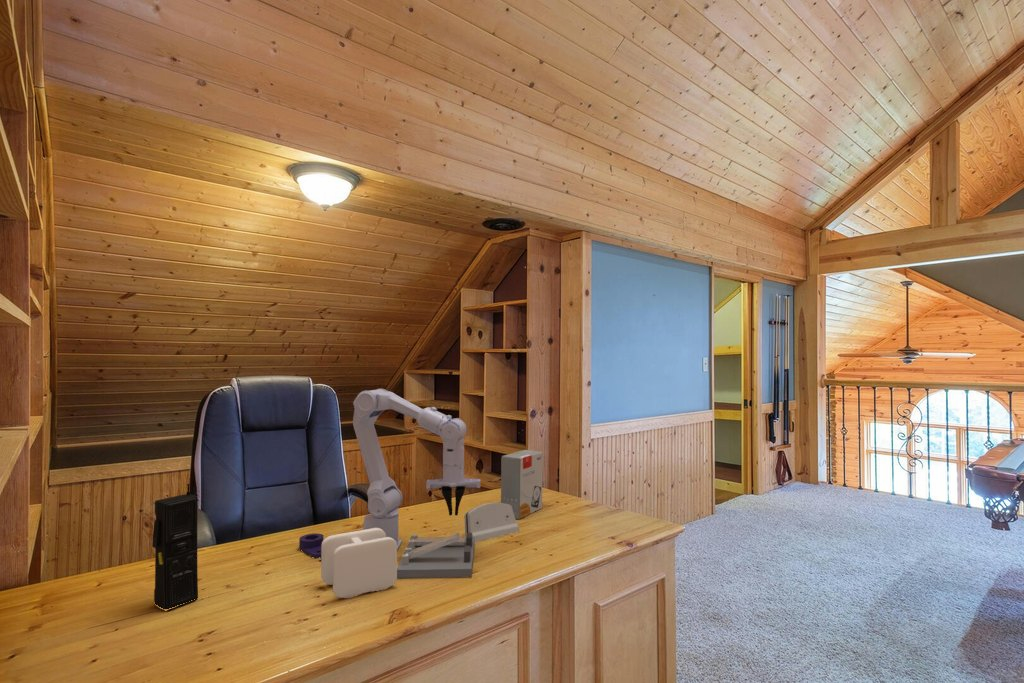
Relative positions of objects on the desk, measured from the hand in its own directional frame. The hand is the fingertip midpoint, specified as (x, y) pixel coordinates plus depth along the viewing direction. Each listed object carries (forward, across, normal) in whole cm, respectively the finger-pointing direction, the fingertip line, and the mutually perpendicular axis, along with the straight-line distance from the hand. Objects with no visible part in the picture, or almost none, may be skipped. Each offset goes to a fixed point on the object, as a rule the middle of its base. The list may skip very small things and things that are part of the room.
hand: (453, 514), depth 143 cm
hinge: (+11, +10, +15) cm, 21 cm away
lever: (+11, -38, +3) cm, 40 cm away
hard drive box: (+11, +21, +35) cm, 42 cm away
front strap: (+6, -5, -10) cm, 12 cm away
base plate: (+10, -4, -4) cm, 12 cm away
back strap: (+8, -4, 0) cm, 9 cm away
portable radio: (+11, -59, -26) cm, 65 cm away
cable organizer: (+11, -21, -20) cm, 30 cm away
